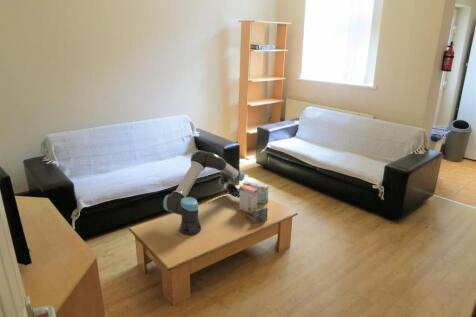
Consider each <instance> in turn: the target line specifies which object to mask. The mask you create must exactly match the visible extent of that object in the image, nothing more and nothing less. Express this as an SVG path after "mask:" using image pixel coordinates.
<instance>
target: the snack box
mask: <svg viewBox="0 0 476 317" xmlns="http://www.w3.org/2000/svg"><path fill="white" fill-rule="evenodd" d="M244 184H245V185H248V186H251V187H253V188H256V189H258V196H257V204H258V203H259V204H263V205H266V204H268V203H269V185H267V184H261V183H257V182H252V181H248V180H247V181H244V182H243V183H242V185H244Z"/></svg>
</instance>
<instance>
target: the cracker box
mask: <svg viewBox="0 0 476 317" xmlns="http://www.w3.org/2000/svg"><path fill="white" fill-rule="evenodd" d="M239 188H240V198H239V211H242V212H243V213H245V212H246V213H247V214H248V215H250V216H252V211H254V210H257V209H258V202H257V196H258V189H256V188H253V187H251V186H248V185H245V184H244V185H243V184H242V185H239Z"/></svg>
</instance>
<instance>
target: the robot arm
mask: <svg viewBox="0 0 476 317" xmlns="http://www.w3.org/2000/svg"><path fill="white" fill-rule="evenodd" d="M192 152H193V153H192V154H191V156H190V167H189V169H188V170H187V172H186V173H185V174H184V176H183V178H182V180H181V182H179V185H178V186H177V188H176V190H173V191H172V192H171V193H170V194H167V195H165V197H164V198H163V202H162V204H163V209H164V210H165V211H167V212H169V213H173V214H176V215H178V216H181V222H180V225H179V233H181V234H182V235H185V236H194V235H197V234H199V233H200V232H201V230H202V224H201V223H200V220H199V205H198V200H197V199H196V198H194V197H192V196H188V194H189V192H190V191H191V188H192V187H193V185H194V184H195V182H196V180H197V179H198V177H199V176H200V173H201V172H203V171H205V170H206V168H209V169H213V170H217V171H220V178H219V180H218V184H219V185H220V187H222V188H223V189H224V190H225V191H227V192H226V193H227V195H230V196H233V197H234V198H236V197H237V199H238V198H239V199H240V187H239V188H238V187H237V186H235V184H233V183H232V182H231V181H230V180H234V181H238V182H243V181H244V180H245V177H246V176H245V172H242V171H239V170H238V169H236V168H234V167H233V166H232V165H231V164H229V163H227V161H226V160H225V159H224V158H223V157H221V156H220V155H219V154H216V153H214V152H210V151H204V150H198V149H197V150H195V151H192Z"/></svg>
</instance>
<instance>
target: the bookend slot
mask: <svg viewBox="0 0 476 317" xmlns="http://www.w3.org/2000/svg"><path fill="white" fill-rule="evenodd" d="M268 210H269V209H268V207H267V206H266V207H262V208H257V210H254V211H252V215H250V214H248V213H246V212H244V217H245V218H246V219H247V220H248V221H249V222H251V223H252V224H257V223H261V222H264V221H267V220H268Z"/></svg>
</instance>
